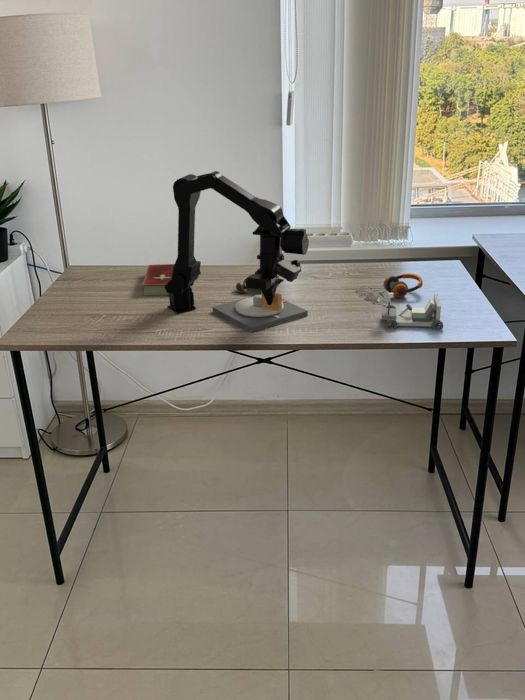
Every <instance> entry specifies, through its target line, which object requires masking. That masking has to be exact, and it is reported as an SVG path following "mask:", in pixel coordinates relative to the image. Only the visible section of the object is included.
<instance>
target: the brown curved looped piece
mask: <svg viewBox="0 0 525 700" xmlns="http://www.w3.org/2000/svg"><path fill="white" fill-rule="evenodd" d="M254 274H255V275H261V274H258V273H257V270H256V271H254V273H253V274H251V275H249V276H247V277H246V278H245V279H244V280H243V281H242V284H241V282H237V283H236V285H235V289H236V291H237V292H238V293H239V294H244V293H245V290H246V291H248V292H257V291H259V290H258V289H252V288H246V280H247V279H248V278H249V277H251V276H252V275H254ZM261 276H262V275H261Z"/></svg>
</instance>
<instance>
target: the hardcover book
mask: <svg viewBox="0 0 525 700" xmlns="http://www.w3.org/2000/svg"><path fill="white" fill-rule="evenodd" d="M174 264H175V263H164V264H162V263H160V264H148V266H147V269H146V273H145V275H144V278H143V280H142V281H143V282H142V284H141V287H143V295H144V296H160V295H162V296H163V295H169V293H167V292H166V289H165V285H166V284H167V283H168V282H169V281H170V280H171V279H172V272H173V267H174Z"/></svg>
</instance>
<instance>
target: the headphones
mask: <svg viewBox="0 0 525 700" xmlns="http://www.w3.org/2000/svg"><path fill="white" fill-rule="evenodd" d="M401 279H413V280H416V281H417V282H418V283H417V285H415V286H413V287H410V288H409V287H408V285H407V283H406V282H405V281H400V280H401ZM423 281H424V280H423V279H422V277H421V276H419V275H417V274H415V273H402V274H400V275H396V276H395V275H391V276H387V277H386V278H385V279H384V280H383V284H382V285H381V286H380V287H379V288H380V289H377V290H376V289H374V288H371V287H370V286H367V285H366V286H365V285H364V286H360V287H357V288H356V290H355V292H356V293H361V294H359V297H362V296H366V297H365V298H364V301H367V302H368V301H372V304H373V305H374V304H378V303H380V302H378V301H377V300H378V298H379V297H380V296H381V295H378V296H375V297H373V296H374V293H377V294H379V292H380V291H381V290H382V287H383V288H384V289H385V291H388V292H389V293H393V298H397V297H398V299H402V298H404V297H405V296H406V295H407V294H408V293H412V292H414V291H417V290H418V289H421V288H422V287H423V283H424V282H423ZM361 288H368V289H369V290H371V291H370V292H367V291H366V290H361V291H358V290H359V289H361ZM372 291H373V292H372ZM383 293H384V292H381V294H383Z"/></svg>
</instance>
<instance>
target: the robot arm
mask: <svg viewBox="0 0 525 700" xmlns="http://www.w3.org/2000/svg"><path fill="white" fill-rule="evenodd" d="M210 189H211V190H214V191H215V192H217V193H218V194H220V195H221V196H222V197H224V198H225V199H227V200H228V201H230V202H231V203H233V204H235V205H236V206H238V207H239V208H241V209H242V210H244V211H245V212H246V213H247V214H248V215H249V216H250V218H251V220H252V221H254V222H255V223H256V224H257V225H258V226H257V228H255V230H254V231H252V235H255V236H259V254H257V255H256V259H257V260H259V268H258V269H256V271H257V273H258V274H261V275H262V276H261V275H255V273H253V274H254V275H253V274H251V275H252V276H251V277H249V276H248V277H249V278H248V279H247V280H246V283H245V286H246V288H252V289H258V290H257V291H261V292H262V293H263V295H264V297H265V299H266V301H267V304H268V305H272V301H273V298H274V295H275V293H277V288H278V286H280V285H281V284H282V283H283V282H284V281H285V280H286V281H287V282H290V283H293V281H295V280H297V279H298V276H299V274H300V272H302V266H301V260H299V259H297V258H295V259H293V260H292V261H290V260H288V261H287V260H286V259H285V255H284V253H285V254H290V255H291V254H293V255H301V256H302V255H303V256H306V255H307V252H308V250H309V245H310V244H309V243H310V239H309V235H308V234H307V228H292V227H291V224H290V222H289V221H288V220H287V218H286V217H285V215H284V212H283V208H282V207H281V206H280V205H279V204H276V203H275V202H272V201H269V200H267V199H262V198H259V197H257V196H255V195H254V194H252V193H250V192H249V191H247V190H246V189H244V188H243V187H242V186H240V185H238V184H237V183H235V182H234V181H232V180H231V179H230V178H227V177H226V176H224V175H223V174H222V173H221V172H220V171H212V172H209V173H205V174H199V175H195V174H193V173H191V174H187V175H185V176H182V177H180V178H177V179H176V180H175V181H174V182H173V185H172V190H173V191H172V192H173V199H174V201H175V204H176V205H177V208H178V217H177V218H178V219H177V221H178V222H177V226H178V227H177V258H176V260H175V262H174V263H173V264H174V267H173V272H172V279H171V280H170V281H169V282H168V283H167V284H166V285H165V289H166V292H167V293H169V294H168V300H169V305H167V307H166V308H167V309H169V310H170V311H173V312H174V313H175V314H181V313H186V312H189V311H193V310H196V309H197V307H196V306H195V296H194V292H193V288H192V286H194V283H195V281H197V280H198V278H199V276H200V275H201V274H202V271H201V264H202V263H201V261H198V260H196V257H195V229H196V228H195V226H196V225H195V223H196V207H197V204H198V201H199V200H200V196H201V193H202V191H205V190H210ZM278 225H279V226H278ZM281 251H282V252H284V253H281ZM280 277H281V278H280ZM282 278H283V279H282ZM284 279H285V280H284Z"/></svg>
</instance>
